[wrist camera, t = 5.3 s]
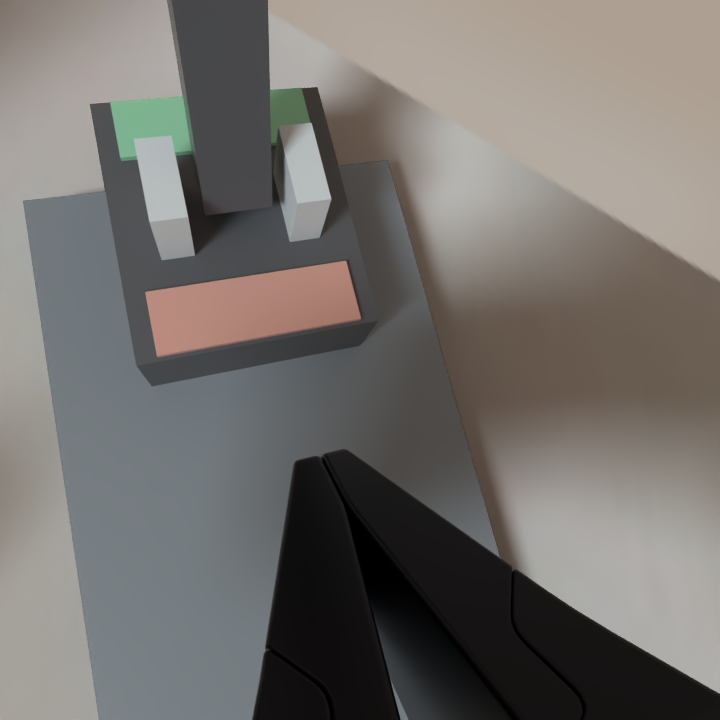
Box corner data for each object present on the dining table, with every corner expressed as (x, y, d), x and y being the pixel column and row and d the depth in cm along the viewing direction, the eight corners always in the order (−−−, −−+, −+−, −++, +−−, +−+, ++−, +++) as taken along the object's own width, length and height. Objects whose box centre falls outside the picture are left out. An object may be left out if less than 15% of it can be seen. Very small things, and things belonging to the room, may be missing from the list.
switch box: (521, 707, 17) (665, 812, 11) (136, 859, 14) (67, 1101, 8) (369, 159, 20) (420, 26, 15) (36, 196, 18) (-61, 50, 12)
